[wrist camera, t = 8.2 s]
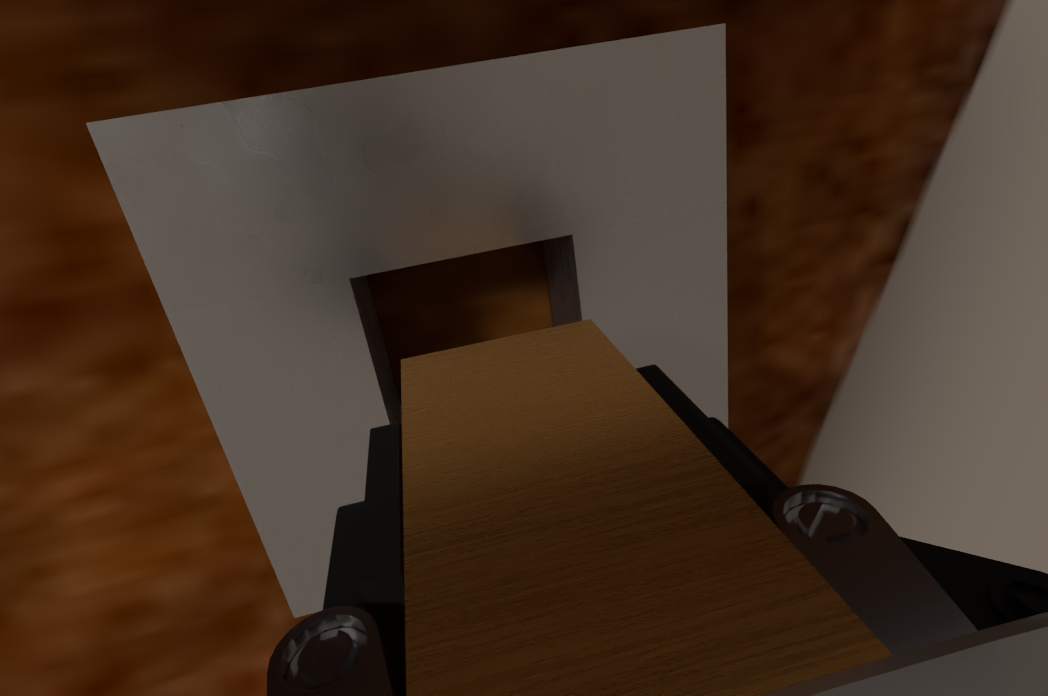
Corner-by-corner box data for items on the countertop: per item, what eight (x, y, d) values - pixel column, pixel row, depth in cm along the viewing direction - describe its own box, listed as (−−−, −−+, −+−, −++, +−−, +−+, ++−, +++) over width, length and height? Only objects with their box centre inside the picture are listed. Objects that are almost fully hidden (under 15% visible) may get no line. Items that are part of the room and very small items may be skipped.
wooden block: (400, 359, 12) (410, 898, 4) (590, 318, 13) (952, 723, 4) (440, 516, 14) (506, 1131, 6) (607, 475, 14) (897, 984, 6)
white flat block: (155, 117, 16) (85, 122, 12) (656, 38, 18) (725, 23, 14) (310, 530, 21) (294, 617, 18) (676, 439, 23) (728, 502, 20)
